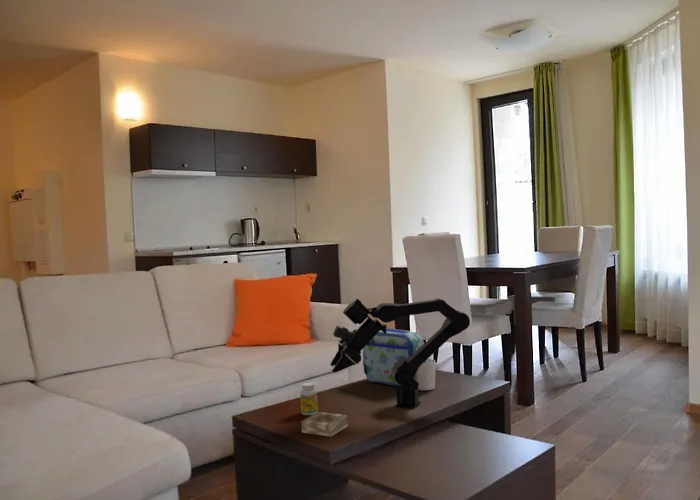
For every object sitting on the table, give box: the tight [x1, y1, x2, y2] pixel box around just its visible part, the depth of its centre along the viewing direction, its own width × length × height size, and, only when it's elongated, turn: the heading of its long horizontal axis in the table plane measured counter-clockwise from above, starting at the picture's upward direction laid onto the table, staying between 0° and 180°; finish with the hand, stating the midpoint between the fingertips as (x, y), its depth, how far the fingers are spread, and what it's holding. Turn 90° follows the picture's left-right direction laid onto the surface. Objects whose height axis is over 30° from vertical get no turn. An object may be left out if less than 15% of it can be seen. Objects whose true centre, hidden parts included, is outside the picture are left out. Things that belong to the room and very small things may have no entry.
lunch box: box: [362, 328, 426, 387], centre depth 231 cm, size 26×11×21 cm, turn 44°
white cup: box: [416, 358, 436, 391], centre depth 222 cm, size 8×8×10 cm
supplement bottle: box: [299, 382, 319, 416], centre depth 199 cm, size 5×5×10 cm
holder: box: [301, 411, 348, 437], centre depth 182 cm, size 10×10×3 cm
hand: (332, 368), depth 200 cm, fingers open, 9 cm apart
